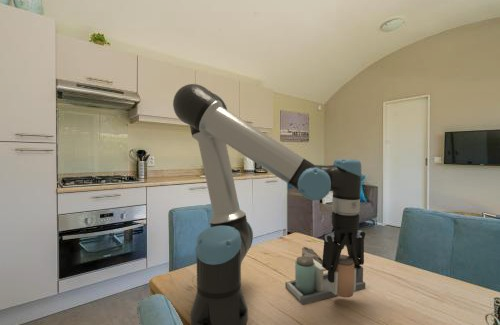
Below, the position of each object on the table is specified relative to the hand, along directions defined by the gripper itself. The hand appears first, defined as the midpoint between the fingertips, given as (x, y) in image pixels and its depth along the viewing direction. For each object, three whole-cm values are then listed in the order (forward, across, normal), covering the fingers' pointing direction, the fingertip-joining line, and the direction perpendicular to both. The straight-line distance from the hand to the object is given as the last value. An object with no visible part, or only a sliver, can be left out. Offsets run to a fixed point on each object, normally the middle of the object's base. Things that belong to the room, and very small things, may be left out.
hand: (342, 289), depth 74 cm
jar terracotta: (0, 0, 0) cm, 0 cm away
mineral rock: (+5, +8, +26) cm, 27 cm away
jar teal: (+4, -7, +9) cm, 12 cm away
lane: (+4, +1, +8) cm, 9 cm away
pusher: (+3, -3, +9) cm, 9 cm away
